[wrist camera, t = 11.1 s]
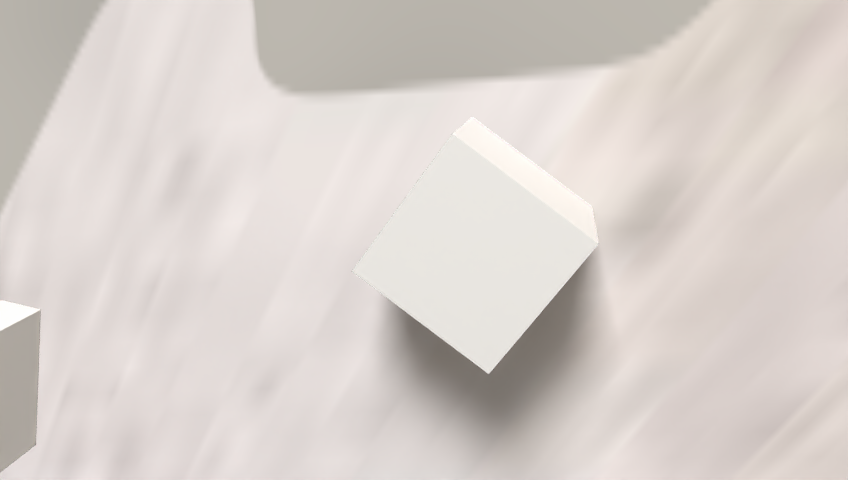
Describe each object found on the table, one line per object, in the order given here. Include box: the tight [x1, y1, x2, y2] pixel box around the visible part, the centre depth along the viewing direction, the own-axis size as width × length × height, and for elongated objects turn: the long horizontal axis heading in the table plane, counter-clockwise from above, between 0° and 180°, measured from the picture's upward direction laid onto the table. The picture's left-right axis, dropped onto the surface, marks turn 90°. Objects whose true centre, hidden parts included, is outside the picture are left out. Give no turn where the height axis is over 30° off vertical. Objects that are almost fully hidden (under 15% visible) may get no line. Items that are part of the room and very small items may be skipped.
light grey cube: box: [352, 117, 599, 374], centre depth 29 cm, size 6×6×6 cm
